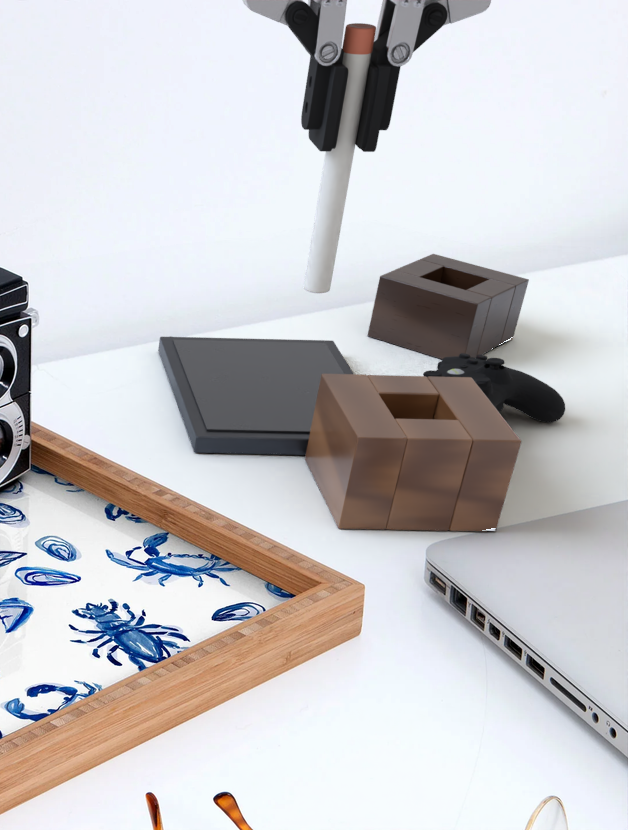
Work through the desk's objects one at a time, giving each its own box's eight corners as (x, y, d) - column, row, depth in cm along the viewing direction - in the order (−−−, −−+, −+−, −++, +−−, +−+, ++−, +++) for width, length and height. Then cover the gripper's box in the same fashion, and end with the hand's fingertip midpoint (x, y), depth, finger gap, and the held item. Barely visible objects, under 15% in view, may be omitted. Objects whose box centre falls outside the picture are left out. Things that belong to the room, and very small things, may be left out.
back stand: (419, 311, 100) (433, 253, 97) (513, 339, 96) (529, 279, 93) (366, 336, 96) (379, 275, 93) (462, 366, 92) (477, 303, 89)
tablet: (330, 355, 93) (333, 338, 92) (392, 457, 81) (397, 439, 80) (157, 351, 93) (160, 334, 92) (194, 453, 81) (196, 435, 80)
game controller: (511, 454, 78) (427, 355, 79) (443, 507, 82) (364, 412, 83) (580, 403, 84) (501, 311, 85) (514, 454, 88) (439, 366, 89)
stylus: (326, 285, 79) (372, 23, 72) (332, 293, 78) (379, 28, 70) (300, 284, 79) (343, 22, 72) (305, 293, 78) (350, 28, 70)
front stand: (449, 463, 80) (472, 376, 77) (496, 532, 74) (522, 440, 71) (304, 459, 80) (321, 373, 77) (338, 528, 74) (358, 437, 71)
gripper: (563, -296, 67) (471, 128, 77) (222, -298, 67) (177, 126, 77) (628, -294, 61) (518, 166, 71) (253, -297, 61) (199, 163, 71)
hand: (341, 142), depth 74 cm, fingers closed on stylus, 1 cm apart
